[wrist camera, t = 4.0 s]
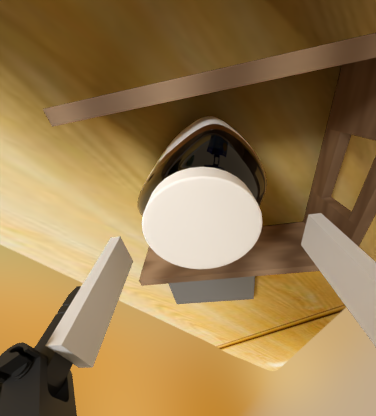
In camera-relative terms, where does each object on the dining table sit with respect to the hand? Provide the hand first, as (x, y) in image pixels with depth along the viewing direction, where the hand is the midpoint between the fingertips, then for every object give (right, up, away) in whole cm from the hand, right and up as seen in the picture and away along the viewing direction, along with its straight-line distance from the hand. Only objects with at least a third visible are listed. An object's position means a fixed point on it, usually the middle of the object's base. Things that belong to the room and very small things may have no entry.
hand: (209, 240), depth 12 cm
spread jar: (0, +6, +8) cm, 10 cm away
